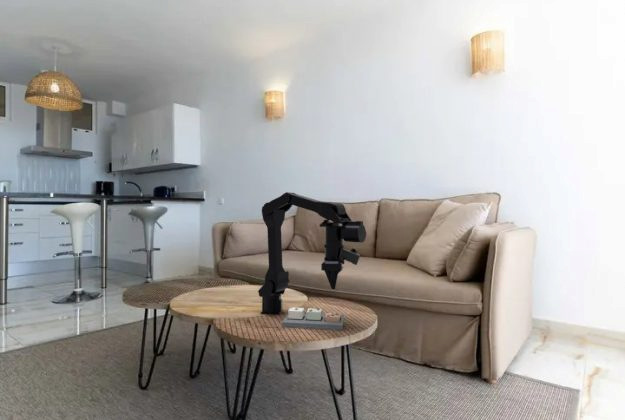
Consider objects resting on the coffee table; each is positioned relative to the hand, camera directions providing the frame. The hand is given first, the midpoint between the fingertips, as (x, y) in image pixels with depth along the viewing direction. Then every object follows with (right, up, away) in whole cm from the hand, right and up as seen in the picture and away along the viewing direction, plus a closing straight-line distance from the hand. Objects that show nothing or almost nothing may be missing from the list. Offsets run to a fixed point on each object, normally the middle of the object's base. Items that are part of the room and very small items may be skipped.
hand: (333, 289), depth 129 cm
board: (-6, -11, +1) cm, 13 cm away
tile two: (-6, -10, +1) cm, 12 cm away
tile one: (-12, -10, +2) cm, 16 cm away
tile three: (0, -11, 0) cm, 11 cm away
